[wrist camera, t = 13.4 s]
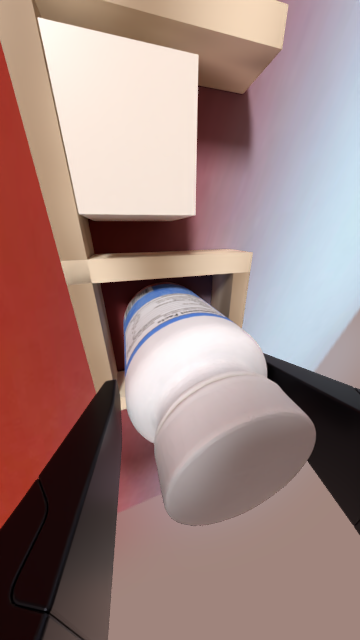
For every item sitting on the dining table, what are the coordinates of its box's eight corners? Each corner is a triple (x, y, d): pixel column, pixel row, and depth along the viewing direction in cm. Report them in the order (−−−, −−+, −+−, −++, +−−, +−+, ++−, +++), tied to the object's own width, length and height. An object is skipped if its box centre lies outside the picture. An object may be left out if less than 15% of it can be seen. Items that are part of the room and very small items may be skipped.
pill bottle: (198, 346, 15) (305, 498, 6) (128, 357, 13) (141, 572, 5) (201, 276, 12) (377, 366, 4) (117, 281, 11) (105, 435, 3)
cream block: (167, 125, 9) (198, 54, 5) (170, 221, 10) (195, 215, 7) (74, 113, 8) (37, 16, 4) (94, 221, 10) (78, 213, 6)
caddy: (246, 63, 9) (288, 4, 6) (218, 362, 16) (233, 383, 14) (15, 8, 6) (-41, -110, 4) (105, 385, 14) (102, 414, 11)
